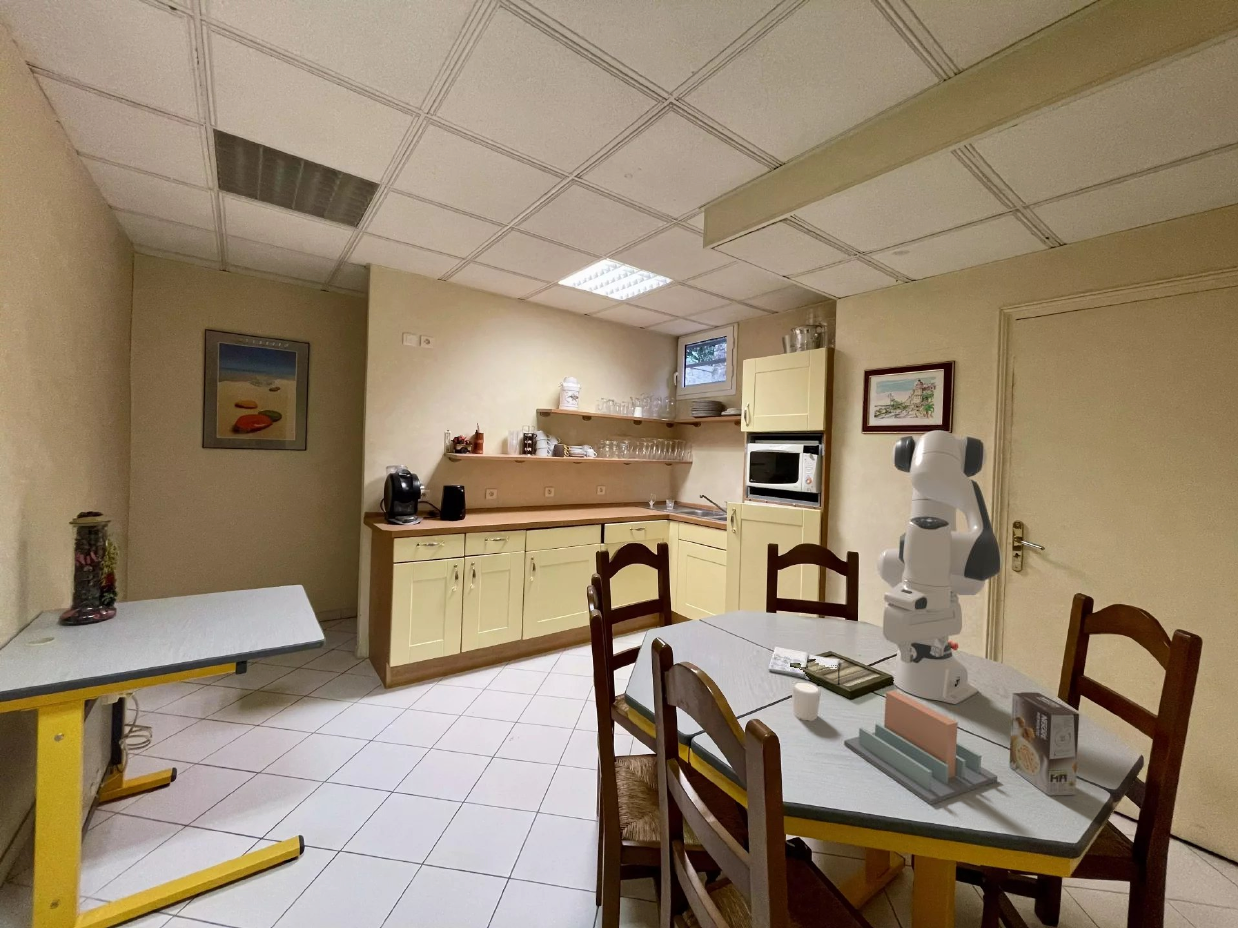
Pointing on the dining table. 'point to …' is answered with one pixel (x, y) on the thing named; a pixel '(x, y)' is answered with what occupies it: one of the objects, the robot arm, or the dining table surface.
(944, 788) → the dish rack
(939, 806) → the dining table surface
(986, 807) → the dining table surface
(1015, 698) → the coffee box
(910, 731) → the salmon pink panel
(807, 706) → the white cylinder
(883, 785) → the dining table surface
